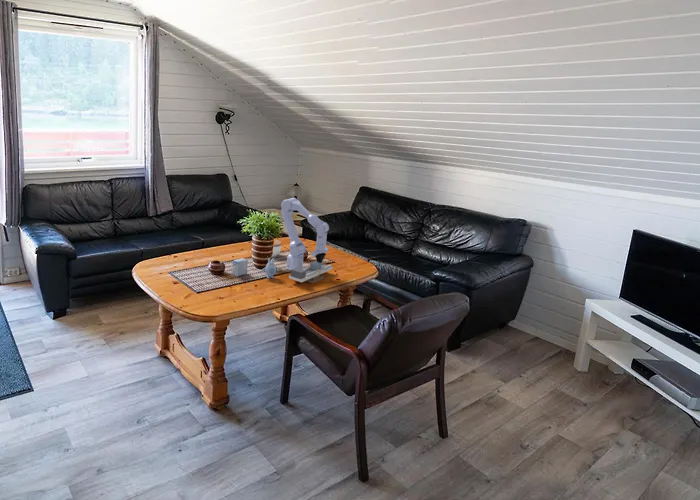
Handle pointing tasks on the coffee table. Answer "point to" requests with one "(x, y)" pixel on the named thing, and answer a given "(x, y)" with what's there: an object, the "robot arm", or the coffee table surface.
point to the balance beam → (309, 274)
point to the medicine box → (239, 267)
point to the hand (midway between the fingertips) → (319, 264)
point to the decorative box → (276, 247)
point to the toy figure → (270, 268)
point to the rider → (315, 265)
